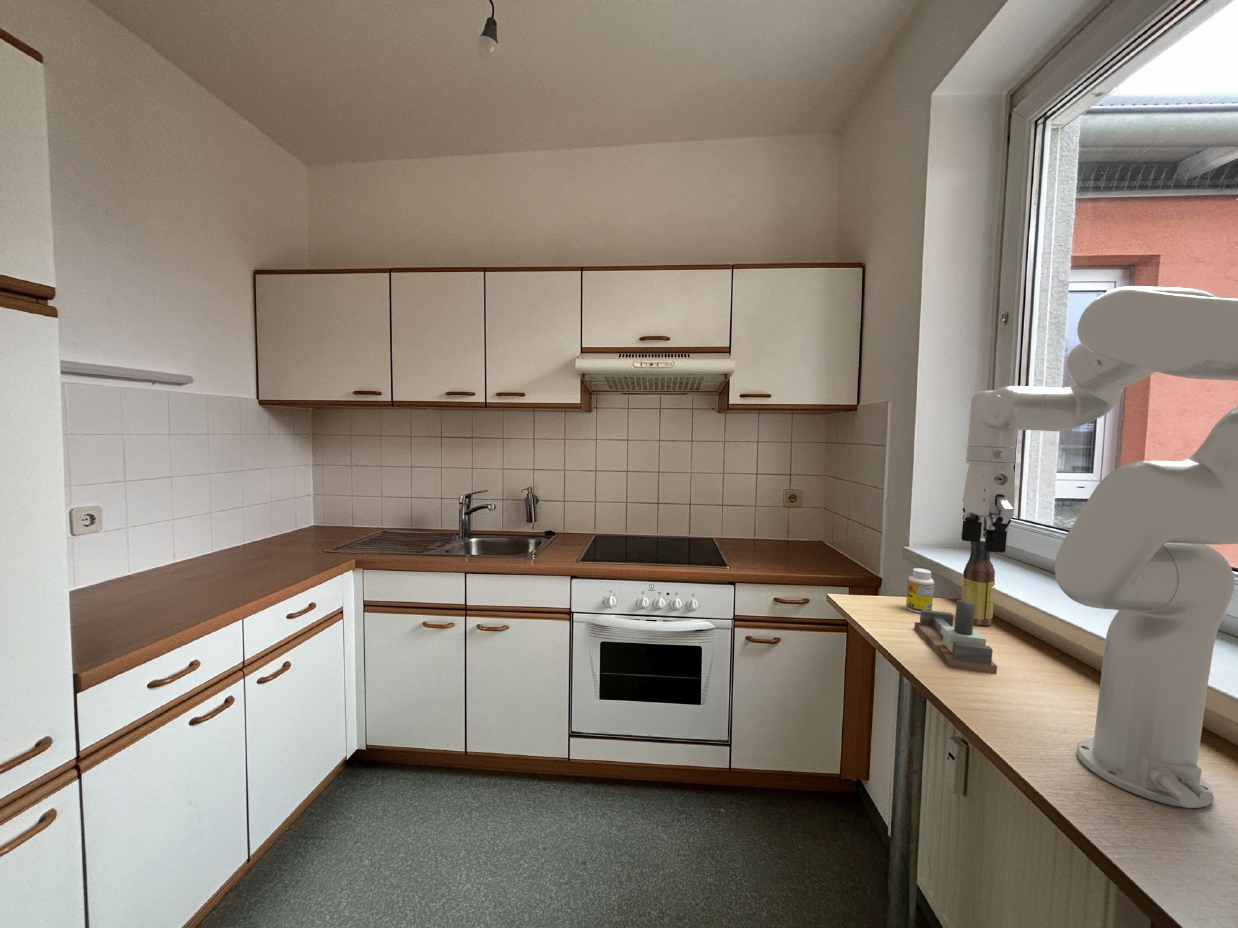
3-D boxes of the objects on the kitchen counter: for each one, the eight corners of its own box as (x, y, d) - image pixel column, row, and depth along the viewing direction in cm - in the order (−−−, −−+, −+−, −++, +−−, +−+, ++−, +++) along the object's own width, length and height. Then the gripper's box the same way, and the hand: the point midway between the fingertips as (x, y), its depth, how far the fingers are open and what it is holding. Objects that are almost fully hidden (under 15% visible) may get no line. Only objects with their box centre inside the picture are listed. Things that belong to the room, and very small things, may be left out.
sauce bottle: (982, 618, 128) (990, 537, 127) (997, 628, 122) (1006, 542, 120) (953, 616, 129) (961, 535, 127) (967, 625, 122) (976, 540, 121)
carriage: (984, 657, 101) (989, 608, 100) (949, 652, 102) (953, 604, 101) (973, 646, 106) (977, 599, 105) (939, 642, 107) (944, 596, 106)
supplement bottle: (904, 605, 135) (907, 565, 134) (928, 608, 133) (932, 568, 132) (907, 612, 130) (911, 571, 129) (933, 616, 128) (937, 574, 127)
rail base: (996, 673, 98) (998, 649, 98) (948, 667, 100) (950, 644, 99) (953, 633, 117) (955, 613, 117) (914, 628, 119) (916, 608, 119)
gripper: (1038, 460, 91) (1029, 558, 92) (990, 456, 108) (982, 539, 109) (989, 457, 93) (981, 554, 94) (949, 454, 109) (942, 536, 111)
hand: (982, 546), depth 101 cm, fingers open, 9 cm apart
